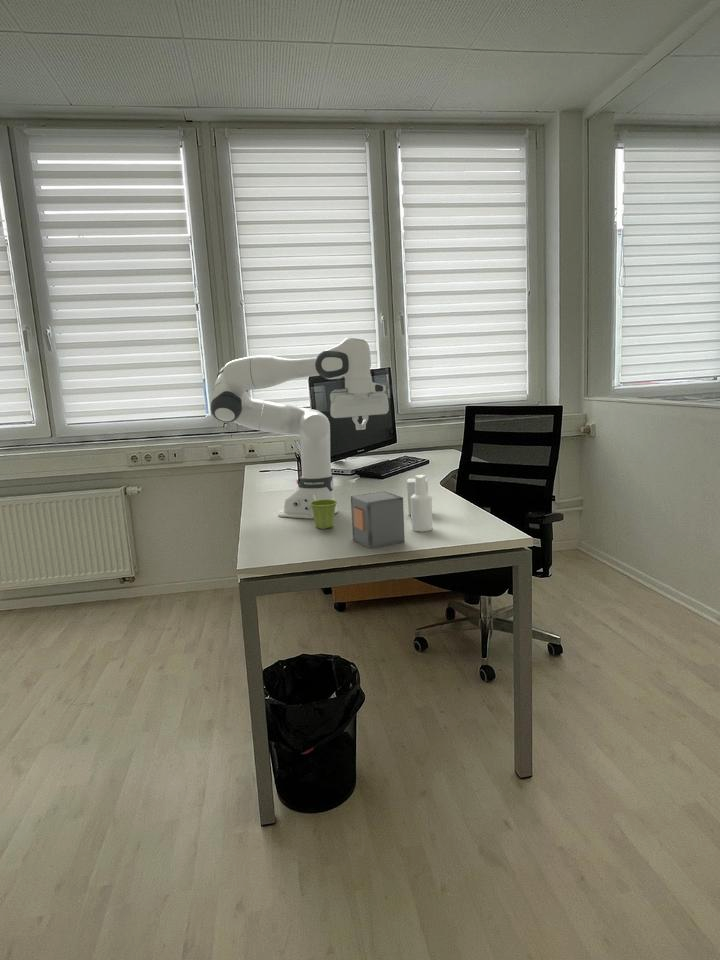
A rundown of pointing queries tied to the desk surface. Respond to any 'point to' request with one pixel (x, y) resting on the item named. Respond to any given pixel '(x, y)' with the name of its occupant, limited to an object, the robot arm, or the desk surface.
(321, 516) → the plant pot
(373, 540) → the button box
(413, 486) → the supplement box
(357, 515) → the button
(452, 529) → the desk surface
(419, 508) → the spray bottle
